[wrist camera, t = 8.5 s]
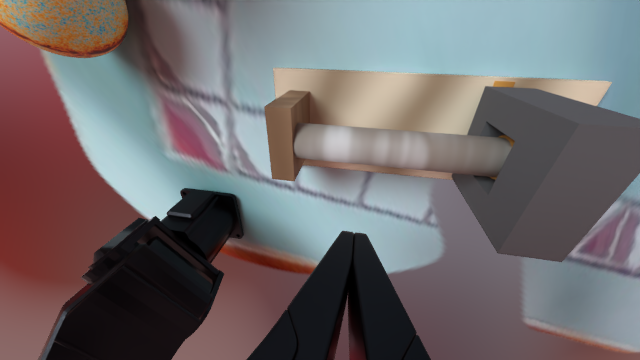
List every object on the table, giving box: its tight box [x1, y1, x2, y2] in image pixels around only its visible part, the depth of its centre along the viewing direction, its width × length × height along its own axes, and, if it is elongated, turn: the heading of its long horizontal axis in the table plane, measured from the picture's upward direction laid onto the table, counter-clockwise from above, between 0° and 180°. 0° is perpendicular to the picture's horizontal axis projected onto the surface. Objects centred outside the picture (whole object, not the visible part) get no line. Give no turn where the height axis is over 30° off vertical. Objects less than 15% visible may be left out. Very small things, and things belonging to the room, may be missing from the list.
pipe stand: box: [265, 68, 612, 181], centre depth 16 cm, size 22×8×6 cm, turn 89°
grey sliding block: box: [451, 86, 640, 262], centre depth 13 cm, size 3×7×8 cm, turn 179°
